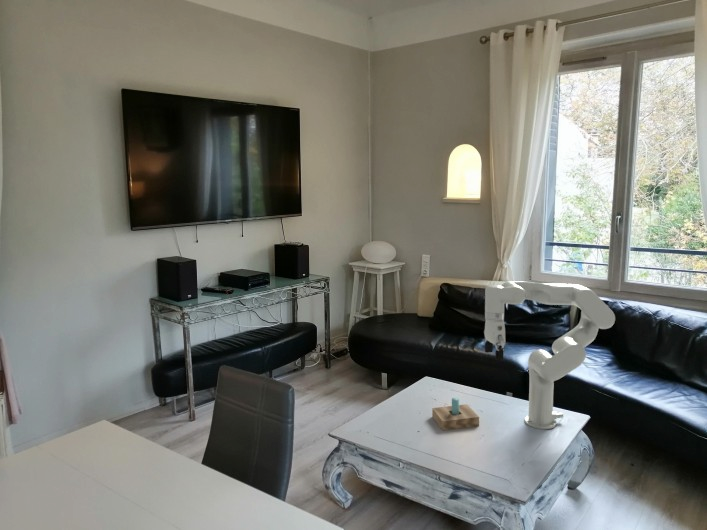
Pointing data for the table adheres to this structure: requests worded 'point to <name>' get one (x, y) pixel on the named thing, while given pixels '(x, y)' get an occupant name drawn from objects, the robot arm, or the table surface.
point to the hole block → (455, 417)
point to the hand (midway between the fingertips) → (493, 355)
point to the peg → (455, 406)
